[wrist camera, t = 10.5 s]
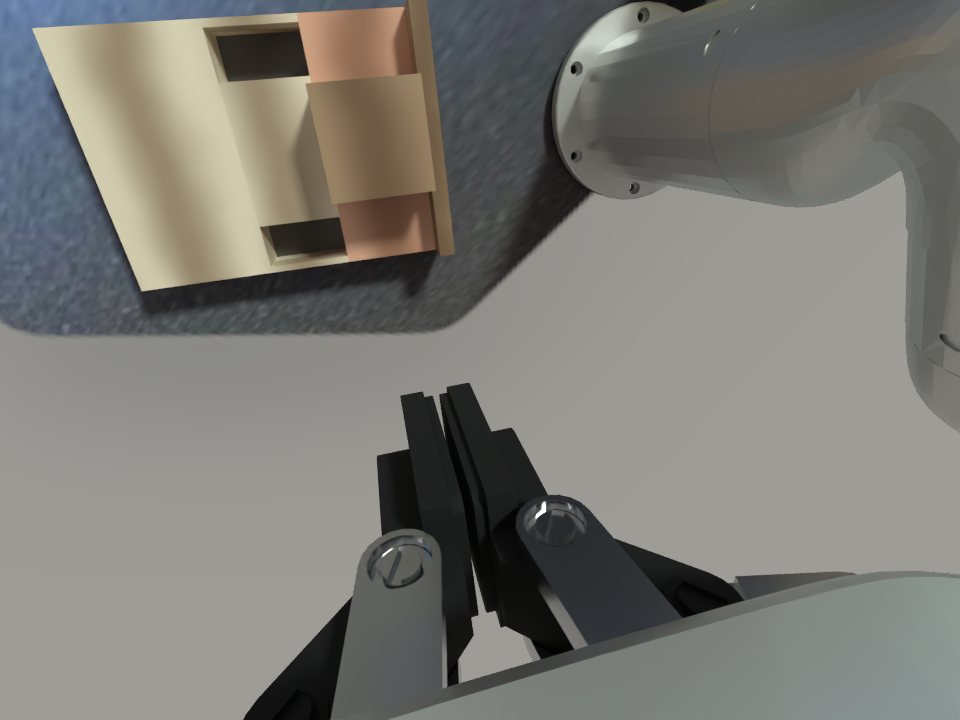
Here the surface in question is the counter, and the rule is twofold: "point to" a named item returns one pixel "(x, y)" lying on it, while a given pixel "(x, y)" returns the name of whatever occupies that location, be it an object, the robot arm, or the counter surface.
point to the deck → (240, 139)
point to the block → (373, 136)
